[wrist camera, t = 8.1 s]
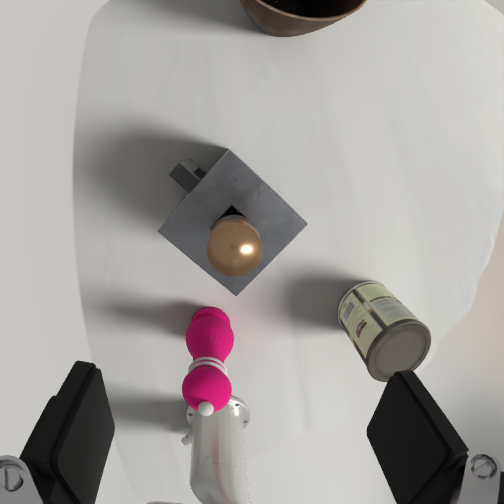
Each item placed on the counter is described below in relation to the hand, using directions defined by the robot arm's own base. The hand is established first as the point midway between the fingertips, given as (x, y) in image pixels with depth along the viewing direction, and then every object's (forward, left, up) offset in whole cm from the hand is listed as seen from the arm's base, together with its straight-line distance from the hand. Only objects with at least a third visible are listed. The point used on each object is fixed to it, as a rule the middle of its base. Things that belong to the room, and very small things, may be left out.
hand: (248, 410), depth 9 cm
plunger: (0, 0, -32) cm, 32 cm away
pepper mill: (-17, -11, -38) cm, 43 cm away
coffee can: (+2, -29, -38) cm, 48 cm away
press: (0, +2, -38) cm, 38 cm away
